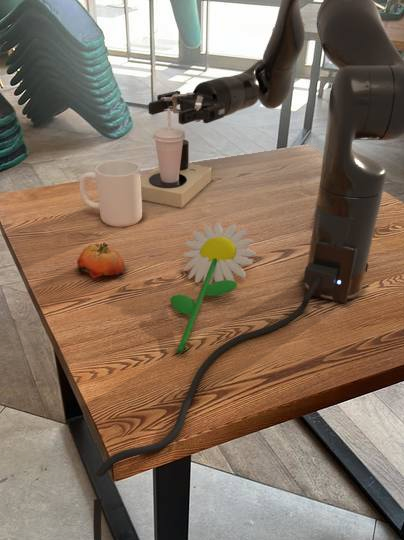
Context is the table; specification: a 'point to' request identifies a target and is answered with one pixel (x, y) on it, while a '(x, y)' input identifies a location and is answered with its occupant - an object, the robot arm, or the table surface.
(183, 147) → the stove knob
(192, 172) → the hob
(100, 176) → the cup
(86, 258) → the tomato
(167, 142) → the smoothie
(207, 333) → the table surface
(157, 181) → the burner ring
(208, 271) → the decorative flower
